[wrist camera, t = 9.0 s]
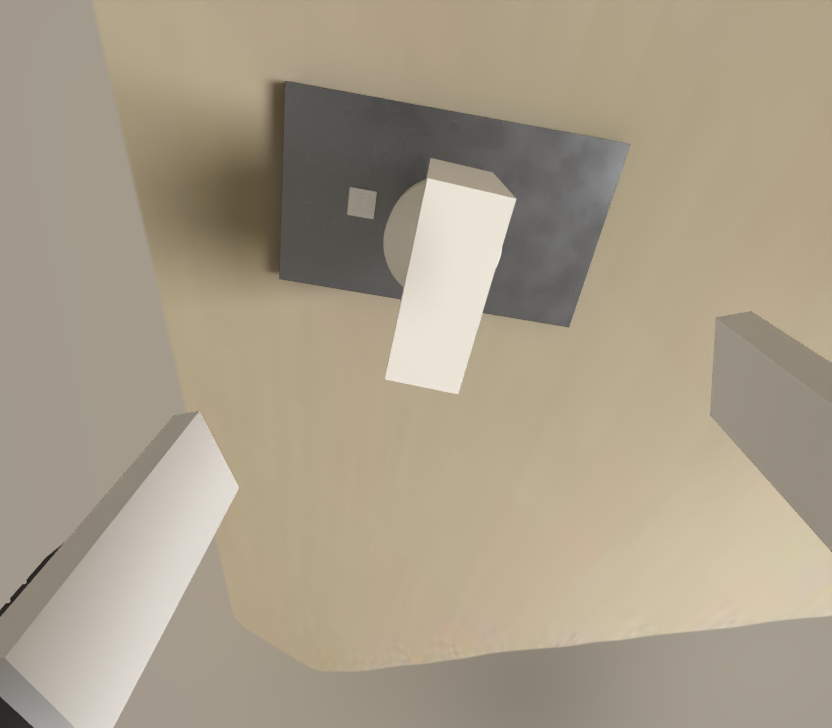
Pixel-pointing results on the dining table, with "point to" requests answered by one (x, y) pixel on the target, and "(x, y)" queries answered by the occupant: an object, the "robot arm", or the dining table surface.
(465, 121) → the base plate
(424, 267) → the lever handle
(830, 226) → the dining table surface
